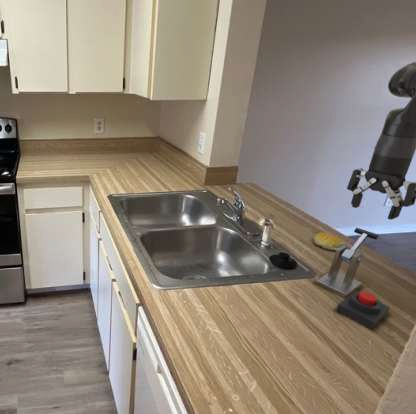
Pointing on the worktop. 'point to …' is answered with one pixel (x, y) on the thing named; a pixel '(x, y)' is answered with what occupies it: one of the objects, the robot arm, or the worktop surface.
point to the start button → (367, 298)
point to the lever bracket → (341, 275)
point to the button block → (363, 310)
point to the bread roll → (328, 241)
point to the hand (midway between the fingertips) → (372, 212)
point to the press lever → (357, 244)
